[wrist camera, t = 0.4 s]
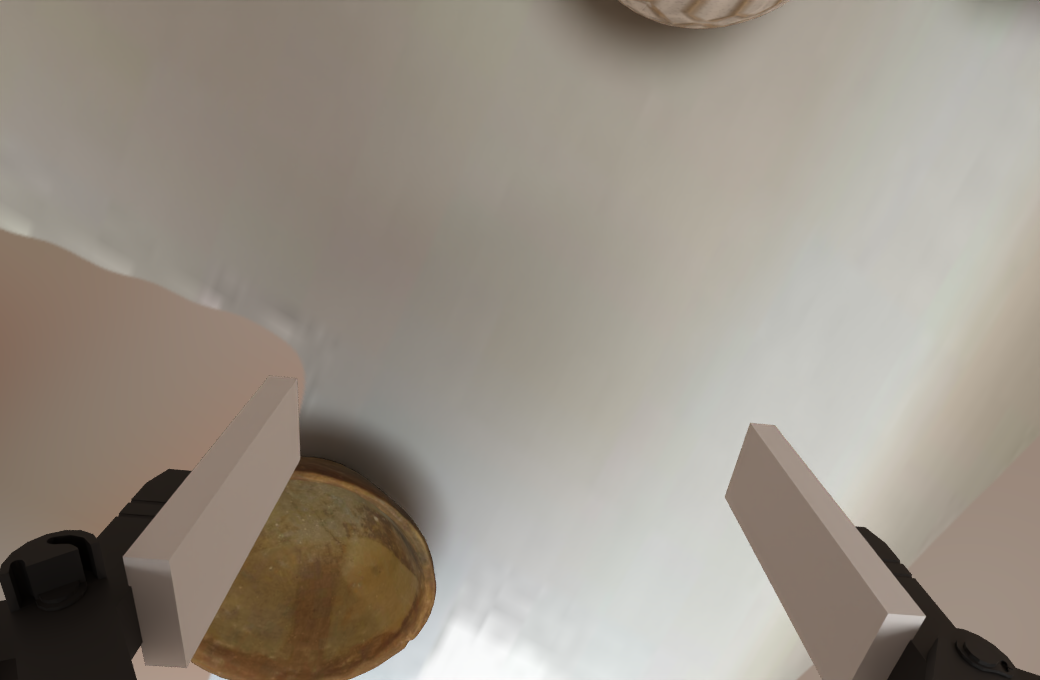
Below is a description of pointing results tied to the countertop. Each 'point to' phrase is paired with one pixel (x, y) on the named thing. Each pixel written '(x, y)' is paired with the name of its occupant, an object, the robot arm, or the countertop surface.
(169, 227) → the countertop surface
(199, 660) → the bowl
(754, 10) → the vase
